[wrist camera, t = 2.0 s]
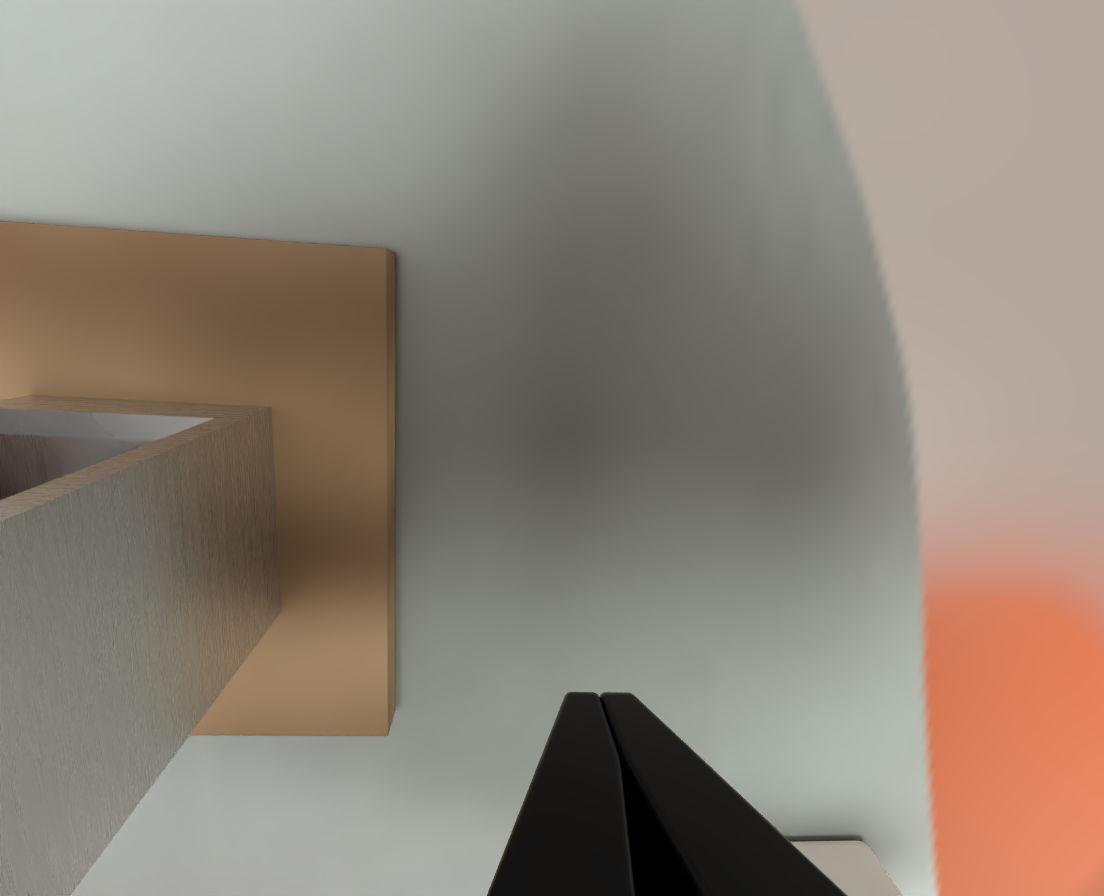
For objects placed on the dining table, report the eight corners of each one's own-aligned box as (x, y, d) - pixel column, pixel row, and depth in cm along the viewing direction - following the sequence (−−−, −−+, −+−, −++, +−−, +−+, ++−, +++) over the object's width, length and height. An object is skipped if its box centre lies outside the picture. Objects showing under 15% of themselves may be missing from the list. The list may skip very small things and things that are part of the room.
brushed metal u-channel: (282, 611, 14) (1, 987, 6) (60, 607, 14) (-530, 1003, 6) (271, 406, 13) (-88, 559, 5) (29, 394, 12) (-757, 541, 5)
